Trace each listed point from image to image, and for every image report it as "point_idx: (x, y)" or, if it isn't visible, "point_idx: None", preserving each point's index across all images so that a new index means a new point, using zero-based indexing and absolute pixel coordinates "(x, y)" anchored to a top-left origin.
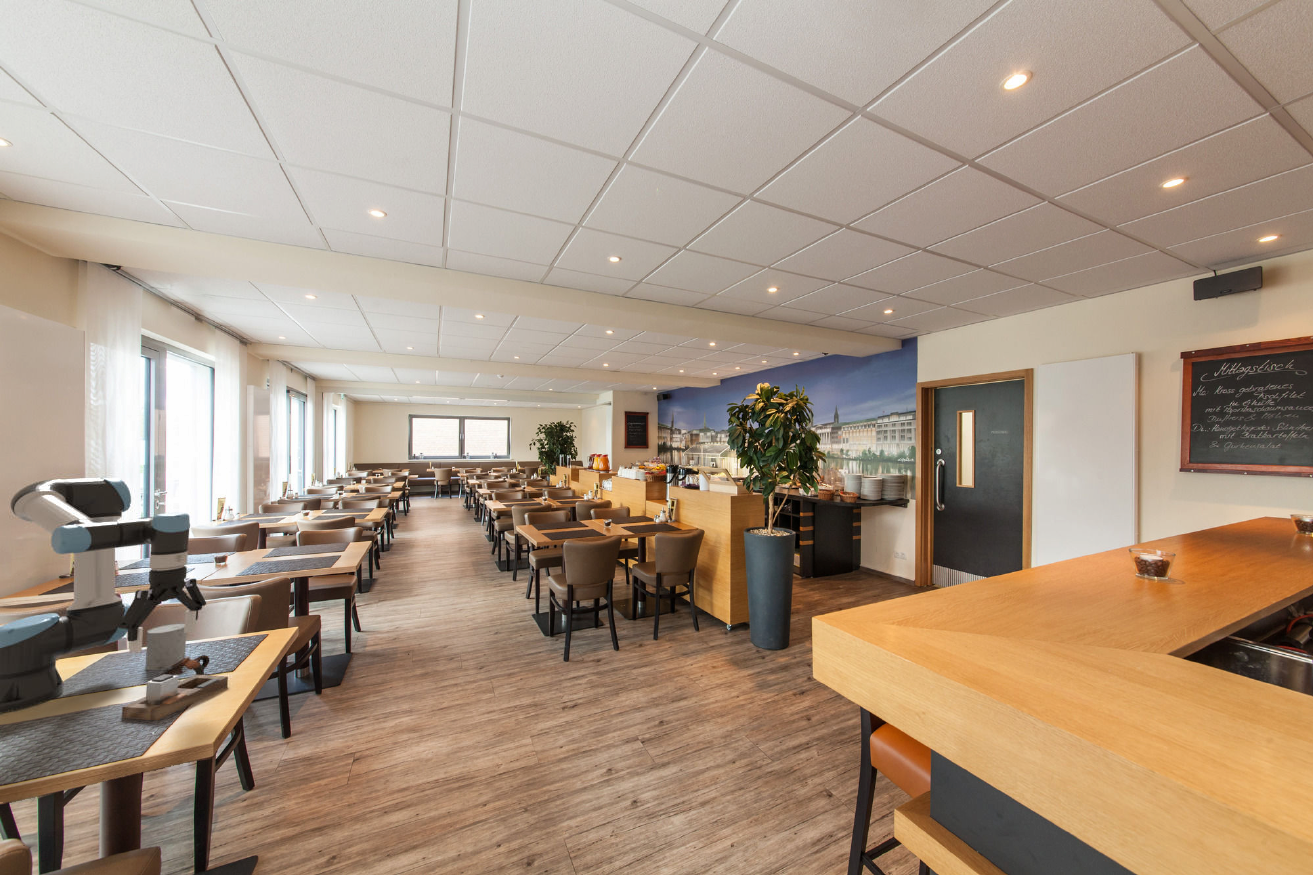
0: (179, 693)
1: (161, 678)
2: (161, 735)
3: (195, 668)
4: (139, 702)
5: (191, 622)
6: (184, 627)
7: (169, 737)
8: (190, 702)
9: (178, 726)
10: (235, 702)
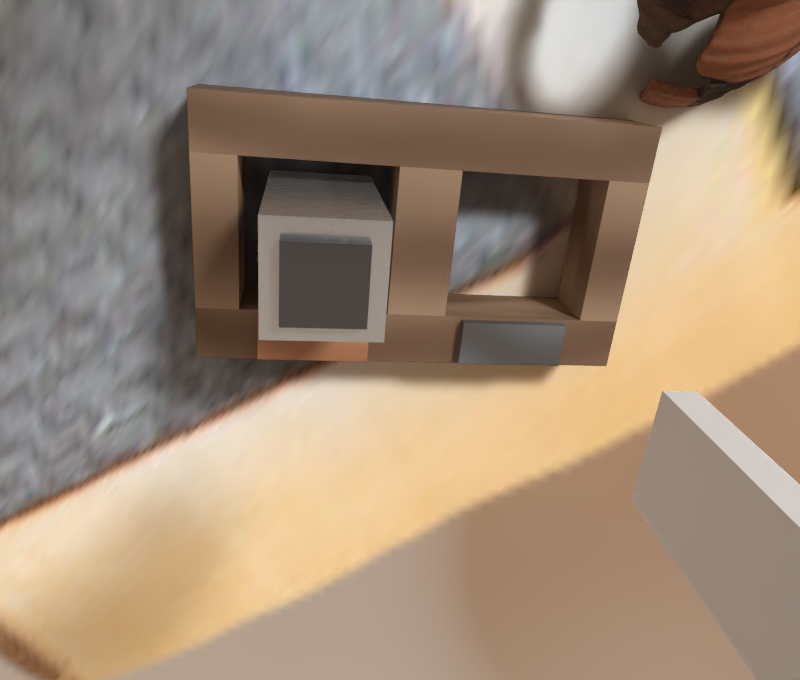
0: (388, 286)
1: (301, 301)
2: (93, 480)
3: (721, 82)
4: (254, 147)
5: (722, 597)
6: (704, 436)
7: (88, 526)
8: None
9: (174, 478)
10: (405, 522)
